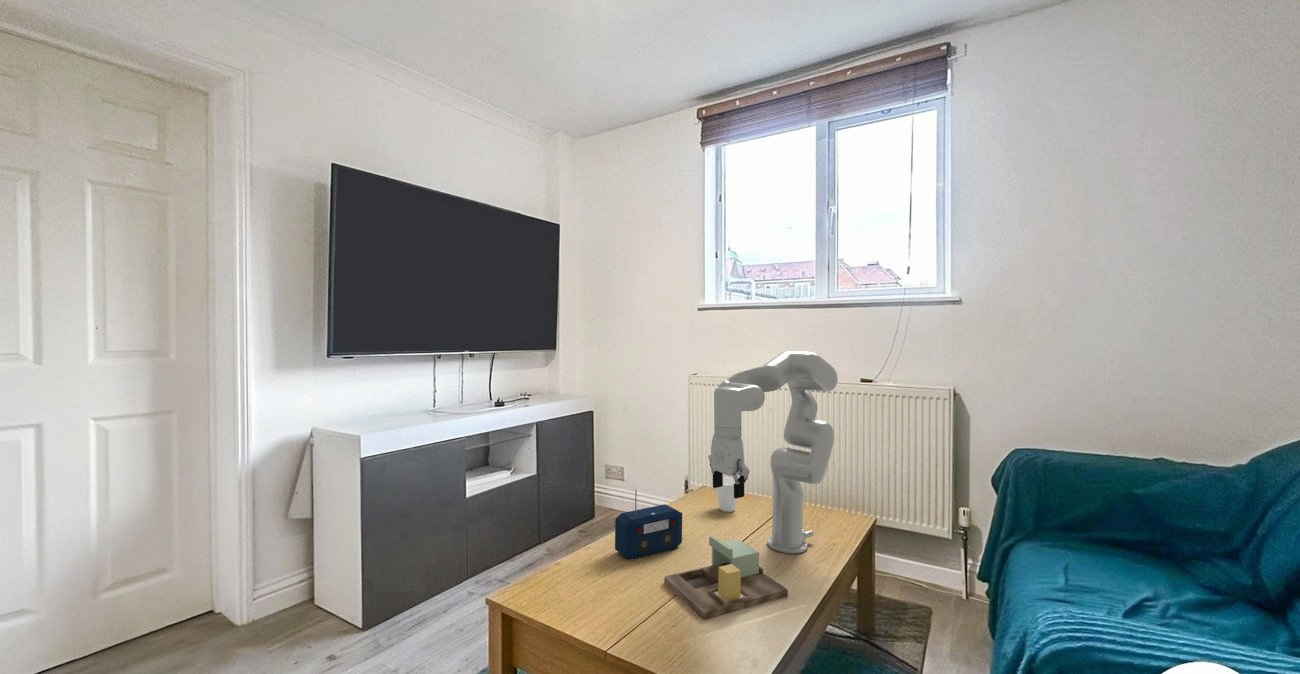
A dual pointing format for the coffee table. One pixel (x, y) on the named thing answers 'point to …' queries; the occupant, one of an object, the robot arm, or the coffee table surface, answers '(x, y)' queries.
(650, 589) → the coffee table surface
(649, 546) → the radio
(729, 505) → the cup
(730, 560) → the cover
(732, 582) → the block
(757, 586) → the puzzle board
